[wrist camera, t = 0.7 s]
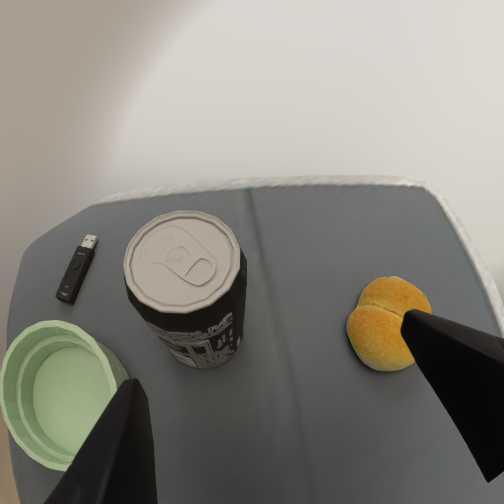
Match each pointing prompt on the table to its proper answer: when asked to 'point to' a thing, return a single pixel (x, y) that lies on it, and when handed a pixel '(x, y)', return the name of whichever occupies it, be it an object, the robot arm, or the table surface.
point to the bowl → (56, 389)
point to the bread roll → (384, 323)
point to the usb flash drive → (76, 270)
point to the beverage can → (189, 285)
